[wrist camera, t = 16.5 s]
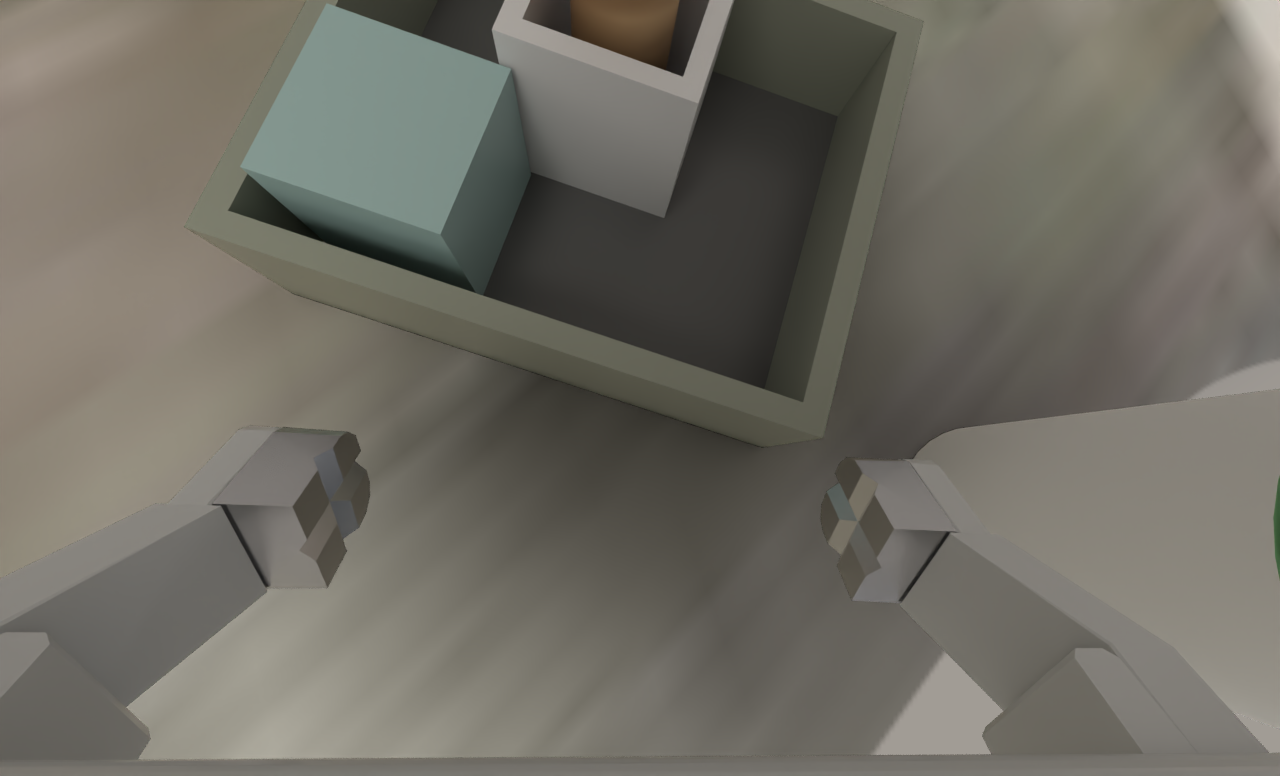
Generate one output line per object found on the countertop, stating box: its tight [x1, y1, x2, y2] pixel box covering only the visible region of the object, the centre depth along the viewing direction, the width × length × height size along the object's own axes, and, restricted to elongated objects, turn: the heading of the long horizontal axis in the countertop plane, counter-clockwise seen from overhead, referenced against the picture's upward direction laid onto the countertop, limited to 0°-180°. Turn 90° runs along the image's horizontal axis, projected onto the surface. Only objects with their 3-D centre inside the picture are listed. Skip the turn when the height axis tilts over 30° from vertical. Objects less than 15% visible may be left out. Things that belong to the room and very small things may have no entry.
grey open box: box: [184, 0, 924, 448], centre depth 17 cm, size 18×15×7 cm
